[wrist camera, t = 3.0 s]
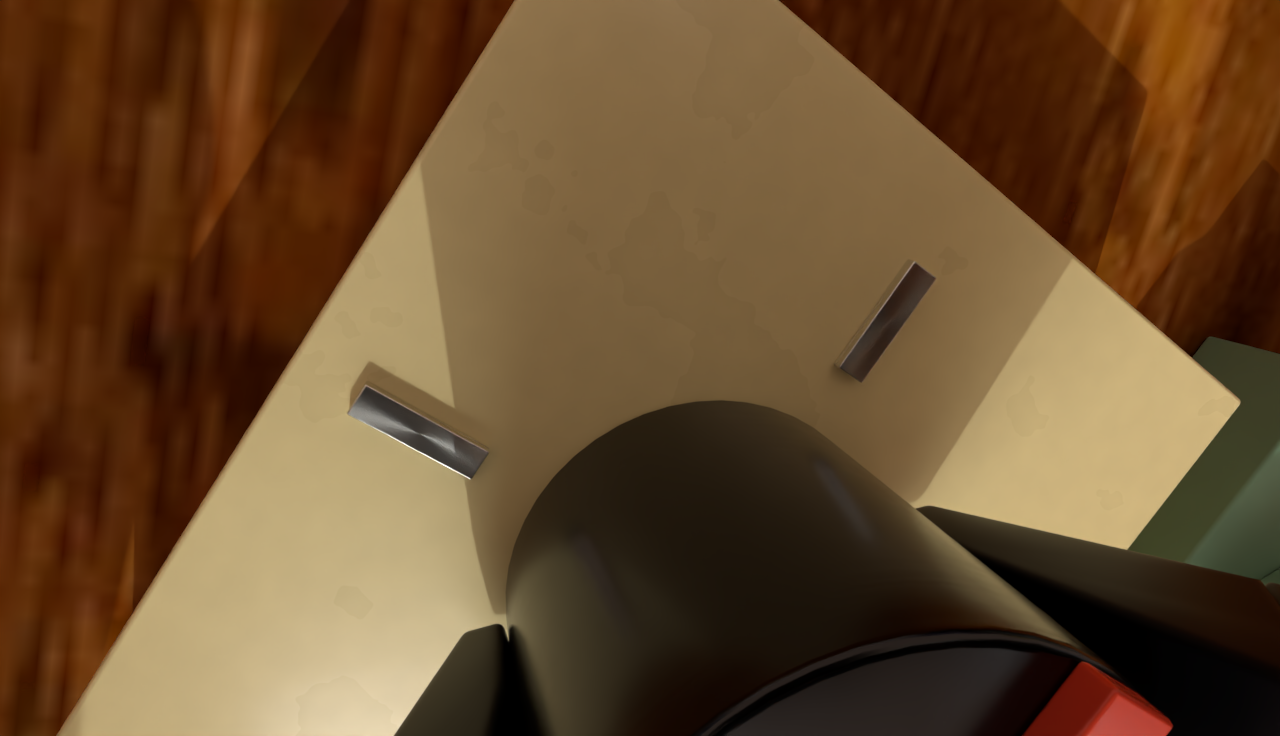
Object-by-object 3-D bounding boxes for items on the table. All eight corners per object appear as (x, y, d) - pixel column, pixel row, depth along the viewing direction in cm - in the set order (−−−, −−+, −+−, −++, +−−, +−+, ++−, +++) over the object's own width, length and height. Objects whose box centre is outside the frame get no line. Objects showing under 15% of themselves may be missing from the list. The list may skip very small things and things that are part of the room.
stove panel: (696, 860, 14) (757, 1047, 11) (128, 633, 11) (8, 811, 8) (1077, 345, 13) (1257, 405, 10) (566, -69, 10) (611, -158, 7)
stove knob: (735, 793, 10) (952, 1303, 6) (427, 655, 9) (395, 1189, 4) (944, 513, 10) (1357, 828, 5) (652, 321, 8) (875, 530, 4)
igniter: (1129, 917, 17) (1316, 1134, 14) (859, 789, 15) (996, 1011, 11) (1440, 540, 16) (1737, 661, 12) (1207, 334, 14) (1491, 405, 10)
